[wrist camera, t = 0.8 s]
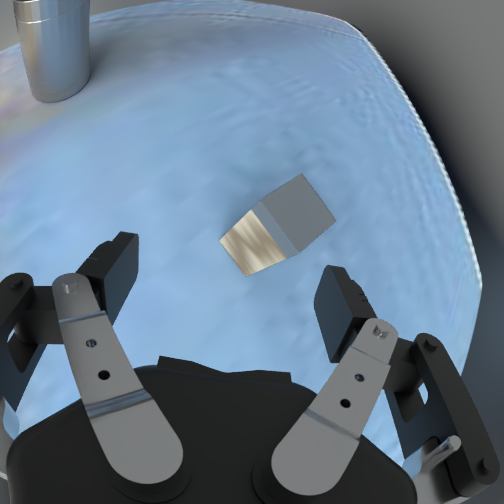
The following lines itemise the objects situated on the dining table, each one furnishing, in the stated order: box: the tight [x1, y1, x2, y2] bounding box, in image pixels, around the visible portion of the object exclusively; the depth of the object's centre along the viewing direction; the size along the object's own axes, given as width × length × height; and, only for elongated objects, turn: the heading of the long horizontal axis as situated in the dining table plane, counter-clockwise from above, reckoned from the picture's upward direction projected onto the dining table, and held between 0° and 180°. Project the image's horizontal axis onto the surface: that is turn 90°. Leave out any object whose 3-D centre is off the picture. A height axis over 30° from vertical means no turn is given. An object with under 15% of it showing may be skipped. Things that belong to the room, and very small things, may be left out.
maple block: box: [219, 173, 336, 276], centre depth 29 cm, size 5×5×12 cm
